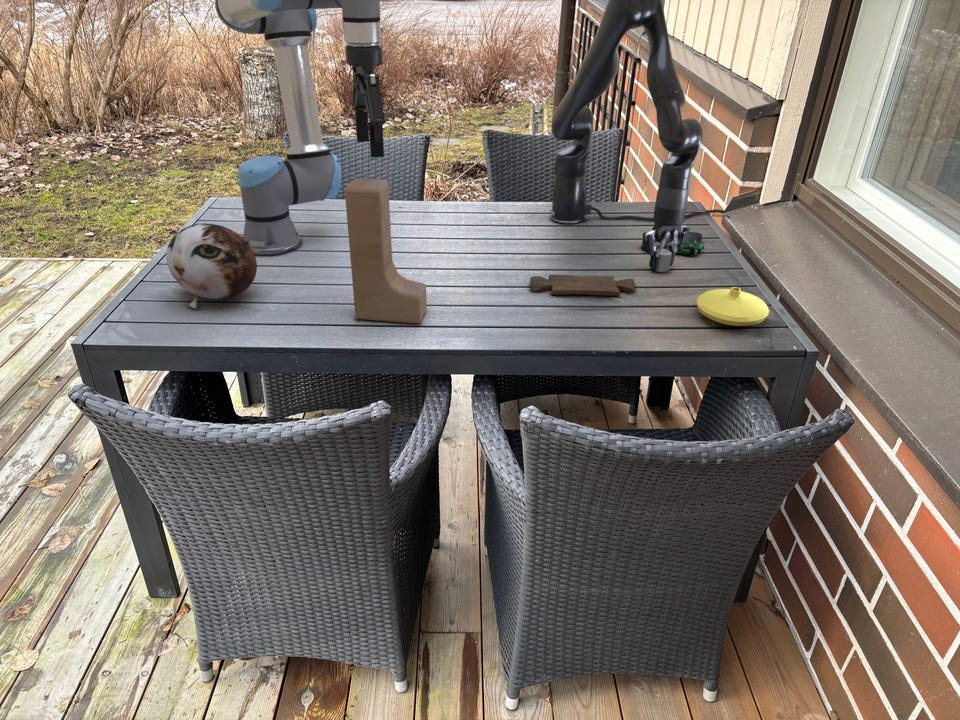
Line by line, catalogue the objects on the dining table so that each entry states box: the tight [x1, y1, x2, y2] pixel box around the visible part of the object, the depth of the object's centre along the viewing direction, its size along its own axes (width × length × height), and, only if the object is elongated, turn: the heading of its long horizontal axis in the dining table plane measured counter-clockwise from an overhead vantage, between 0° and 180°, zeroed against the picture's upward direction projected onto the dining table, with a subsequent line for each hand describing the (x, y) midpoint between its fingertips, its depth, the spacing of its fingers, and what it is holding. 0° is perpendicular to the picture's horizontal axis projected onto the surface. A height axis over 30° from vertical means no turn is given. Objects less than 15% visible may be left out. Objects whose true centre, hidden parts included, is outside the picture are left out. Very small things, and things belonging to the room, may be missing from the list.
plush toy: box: [165, 222, 258, 309], centre depth 165 cm, size 22×18×20 cm
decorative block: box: [344, 177, 428, 324], centre depth 154 cm, size 8×15×30 cm, turn 82°
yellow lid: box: [696, 286, 770, 327], centre depth 161 cm, size 16×16×7 cm
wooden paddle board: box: [529, 274, 635, 297], centre depth 175 cm, size 26×2×10 cm
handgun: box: [640, 231, 705, 257], centre depth 200 cm, size 16×3×15 cm
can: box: [654, 249, 672, 273], centre depth 184 cm, size 4×4×5 cm
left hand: (370, 149), depth 157 cm, fingers open, 13 cm apart
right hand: (661, 266), depth 185 cm, fingers closed on can, 4 cm apart
